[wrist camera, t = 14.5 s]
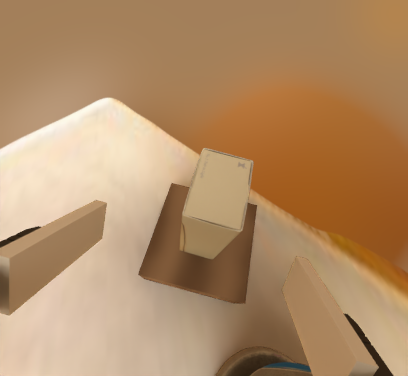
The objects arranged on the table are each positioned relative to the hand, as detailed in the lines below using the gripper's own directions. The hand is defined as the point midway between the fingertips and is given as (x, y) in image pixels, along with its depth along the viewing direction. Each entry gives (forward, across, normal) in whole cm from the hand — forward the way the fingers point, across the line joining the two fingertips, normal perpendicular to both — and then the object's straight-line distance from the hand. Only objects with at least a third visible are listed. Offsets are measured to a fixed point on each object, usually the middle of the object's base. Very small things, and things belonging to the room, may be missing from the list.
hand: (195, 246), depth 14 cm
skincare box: (+11, 0, -4) cm, 12 cm away
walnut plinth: (+14, +1, -8) cm, 16 cm away
